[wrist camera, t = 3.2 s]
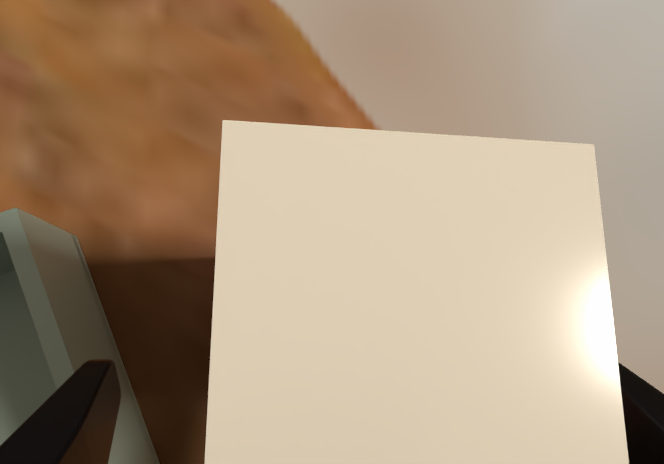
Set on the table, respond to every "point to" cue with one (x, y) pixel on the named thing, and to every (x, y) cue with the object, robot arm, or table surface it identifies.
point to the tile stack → (410, 301)
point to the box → (55, 330)
